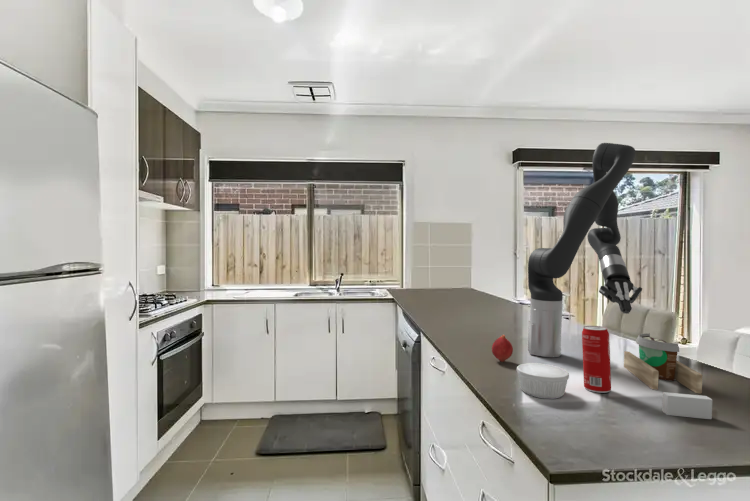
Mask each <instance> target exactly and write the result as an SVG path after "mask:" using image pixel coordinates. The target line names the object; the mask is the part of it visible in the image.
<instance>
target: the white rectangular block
mask: <svg viewBox="0 0 750 501" xmlns="http://www.w3.org/2000/svg"><path fill="white" fill-rule="evenodd" d="M661 410H662V413H664V414H665V415H666V416H673V417H674V416H675V417H683V418H684V417H685V418H686V417H687V418H695V419H703V420H704V419H705V420H712V417H713V399H712V398H711V397H709V396H707V395H701V394H700V395H698V394H688V393H677V392H666V391H663V392H662V408H661Z"/></svg>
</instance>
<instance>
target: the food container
mask: <svg viewBox="0 0 750 501" xmlns="http://www.w3.org/2000/svg"><path fill="white" fill-rule="evenodd" d="M635 343H636V345H638V355H639V356H638V358H639V359H641V360H642V361H644V362H645V363H647V364H648V365H650V366H651V367H653V368H654V369H656V370H658V371H659V375H658V380H661V381H669V382H674V381H675V379H674V377H675V369H676V360H677V359H678V353H680V346H679V343H675V342H667V341H665V340H663V339H659V338H654V337H651V334H650V332H649V333H640V334H638V336H637V338H636V340H635ZM677 361H678V360H677Z"/></svg>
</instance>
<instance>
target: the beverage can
mask: <svg viewBox="0 0 750 501" xmlns="http://www.w3.org/2000/svg"><path fill="white" fill-rule="evenodd" d="M581 343H582V344H581V345H582V366H583V367H582V368H583V370H582V371H583V374H582V375H583V387H584V388H585V389H586V390H587V391H589V392H592V393H593V392H594V393H598V394H599V393H600V394H601V393H602V394H603V393H604V394H605V393H610V392H611V391H612V374H611V369H612V368H611V348H610V345H611V344H610V343H611V342H610V332H609V330H608V327H605V326H601V325H584V326H583V328H582V331H581Z"/></svg>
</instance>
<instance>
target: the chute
mask: <svg viewBox="0 0 750 501" xmlns="http://www.w3.org/2000/svg"><path fill="white" fill-rule="evenodd" d="M623 353H624V354H623V355H624V356H623V368H624V369H626V370H627V371H629V372H630V373H631V374H632V375H634V376H635V377H636V378H637V379H638V380H640V381H641V382H643V384H645V385H646V386H647V387H649V388H650V389H652V390H655V391H656V390H657V391H658V390H659V379H658V375H659V371H658V370H656V369H654V368H653V367H651V366H650V365H648V364H647V363H645V362H644V361H642V360H641V359H639V356H636V355H635V354H634V353H632V352H630V351H626V350H625V351H624V352H623ZM674 381H676V382H679V383H680V384H681V385H682V386H684V387H686V388H687V389H688V390H690V391H692V392H693V393H695V394H700V395H702V392H703V374H702V373H700V372H698V371H696V370H695V369H693V368H691V367H690V366H687V365H686V364H684V363H682V362H681V361H678V360H676V369H675V377H674Z"/></svg>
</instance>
